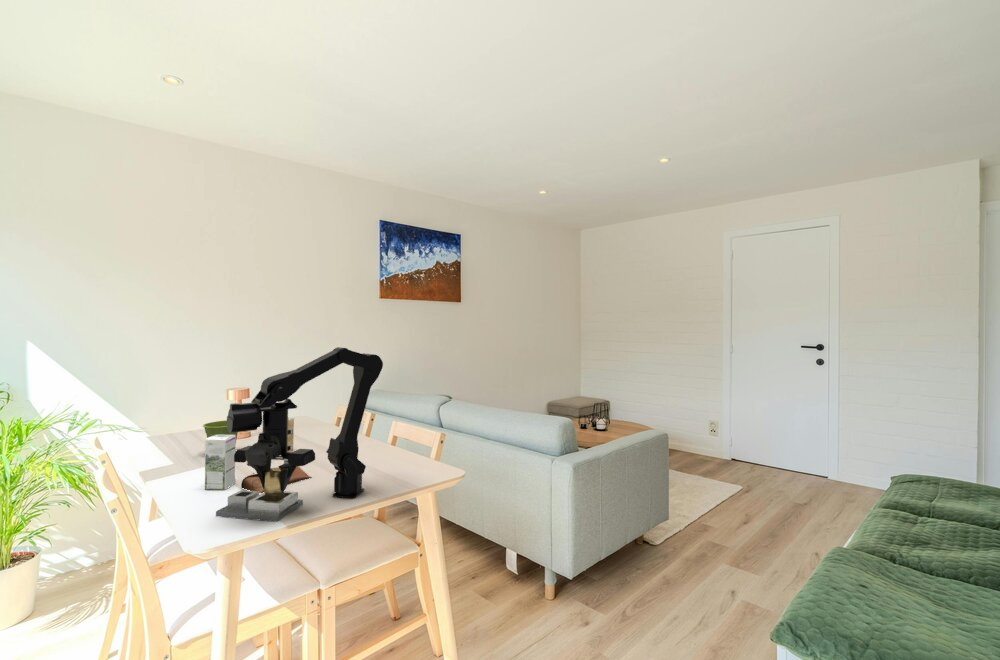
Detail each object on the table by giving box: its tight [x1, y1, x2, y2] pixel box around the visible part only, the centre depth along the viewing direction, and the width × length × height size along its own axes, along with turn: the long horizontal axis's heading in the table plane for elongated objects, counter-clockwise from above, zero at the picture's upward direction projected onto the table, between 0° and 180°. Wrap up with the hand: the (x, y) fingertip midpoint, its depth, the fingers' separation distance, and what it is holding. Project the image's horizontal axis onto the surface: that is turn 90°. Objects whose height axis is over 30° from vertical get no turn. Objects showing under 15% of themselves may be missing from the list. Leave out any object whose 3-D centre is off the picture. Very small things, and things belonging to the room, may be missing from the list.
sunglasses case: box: [240, 466, 313, 494], centre depth 138 cm, size 18×7×7 cm, turn 150°
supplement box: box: [279, 417, 295, 456], centre depth 165 cm, size 8×5×13 cm, turn 178°
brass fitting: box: [264, 467, 285, 501], centre depth 117 cm, size 4×4×7 cm
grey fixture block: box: [215, 489, 304, 522], centre depth 117 cm, size 16×11×4 cm
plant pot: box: [202, 419, 239, 446], centre depth 166 cm, size 12×12×11 cm
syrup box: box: [204, 435, 237, 491], centre depth 133 cm, size 6×6×14 cm
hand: (274, 489), depth 117 cm, fingers closed on brass fitting, 4 cm apart
